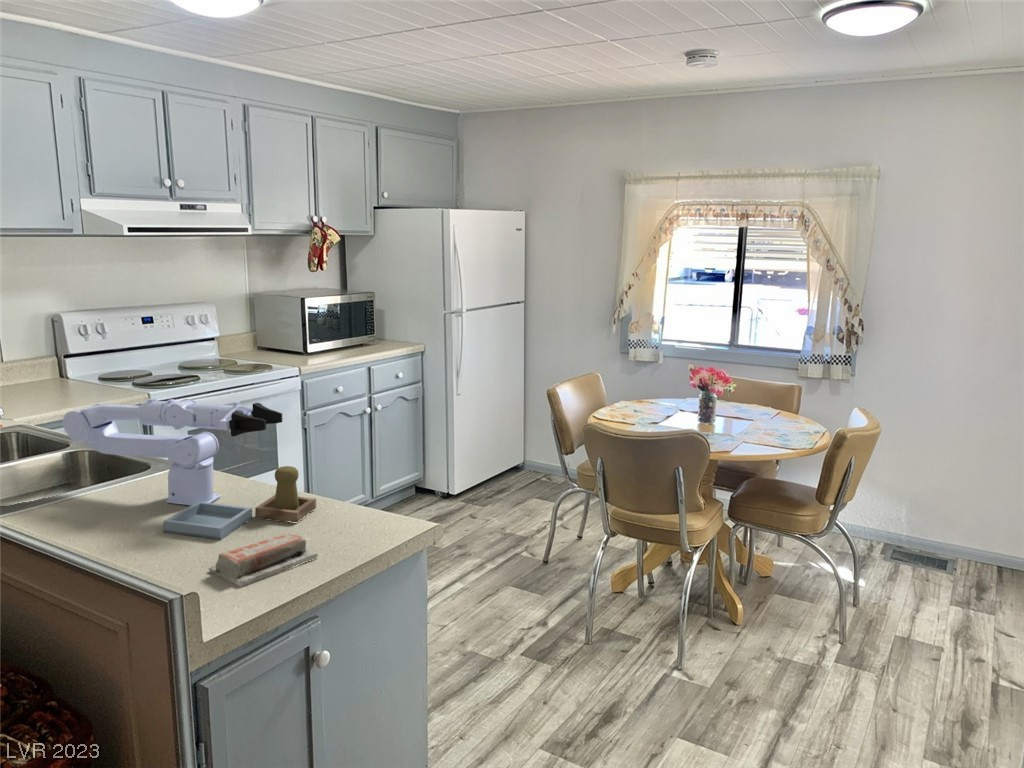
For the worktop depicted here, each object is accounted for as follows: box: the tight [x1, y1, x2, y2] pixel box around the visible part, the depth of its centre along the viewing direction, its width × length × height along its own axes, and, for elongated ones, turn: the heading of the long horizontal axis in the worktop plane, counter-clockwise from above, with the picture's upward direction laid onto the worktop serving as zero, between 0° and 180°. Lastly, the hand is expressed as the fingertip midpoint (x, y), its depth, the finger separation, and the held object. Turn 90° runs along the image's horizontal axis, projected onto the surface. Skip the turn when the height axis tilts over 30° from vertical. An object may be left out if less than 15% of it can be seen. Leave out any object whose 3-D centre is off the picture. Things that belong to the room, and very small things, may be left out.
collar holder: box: [254, 494, 317, 522], centre depth 180 cm, size 10×10×2 cm
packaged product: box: [208, 533, 319, 588], centre depth 152 cm, size 18×5×10 cm
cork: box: [274, 465, 299, 511], centre depth 179 cm, size 6×6×11 cm
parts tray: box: [163, 501, 253, 541], centre depth 170 cm, size 13×13×2 cm
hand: (273, 421), depth 178 cm, fingers open, 7 cm apart
